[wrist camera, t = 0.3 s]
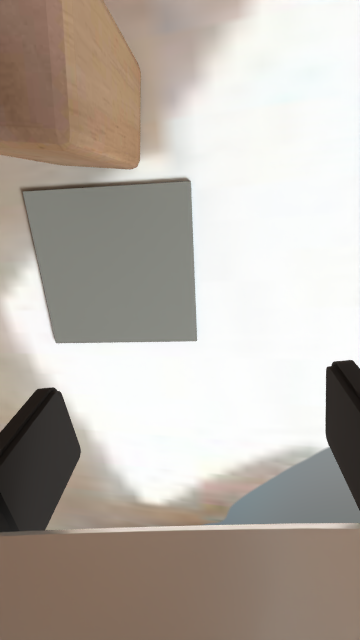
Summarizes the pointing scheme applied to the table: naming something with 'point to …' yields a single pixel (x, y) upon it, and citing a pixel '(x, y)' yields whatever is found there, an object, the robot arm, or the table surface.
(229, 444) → the table surface
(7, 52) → the wooden block
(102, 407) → the table surface
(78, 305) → the mat
